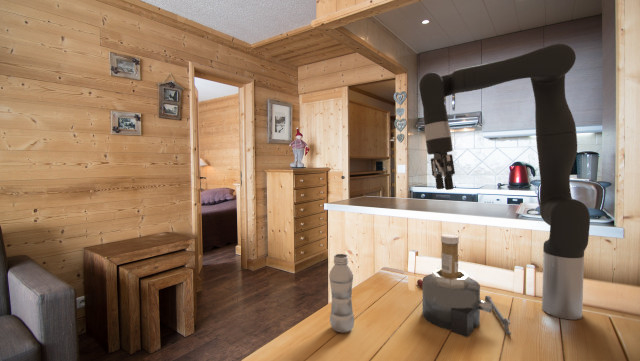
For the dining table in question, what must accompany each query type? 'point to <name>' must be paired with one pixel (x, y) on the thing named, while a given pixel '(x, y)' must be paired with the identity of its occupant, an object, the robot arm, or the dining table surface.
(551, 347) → the dining table surface
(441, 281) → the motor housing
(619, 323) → the dining table surface
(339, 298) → the plastic bottle
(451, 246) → the spice jar
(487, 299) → the combination wrench
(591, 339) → the dining table surface
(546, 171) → the robot arm
